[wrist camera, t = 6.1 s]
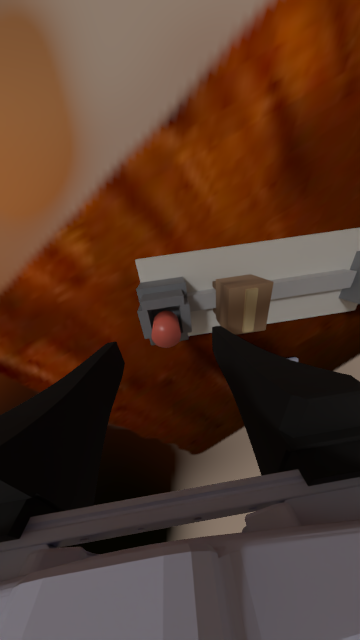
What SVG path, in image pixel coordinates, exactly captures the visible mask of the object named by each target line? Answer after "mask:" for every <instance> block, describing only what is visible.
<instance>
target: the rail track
mask: <svg viewBox="0 0 360 640" xmlns="http://www.w3.org/2000/svg"><path fill="white" fill-rule="evenodd" d="M135 262H136V266H137V270H138V274H139V278H140V282H141V283H140V284H139V286H138V287H137V289H136V291H137V294H138V298H139V302H140V307H139V309H138V311H137V312H138V316H139V319H140V323H141V326H142V330H143V333H144V337H145V339H147V338H149V339H150V342H151V345H156V344H155V343H154V342H153V340H152V337H151V334H152V328H153V321H154V318H155V316H156V315H157V314H158V313H159V312H162V311H171V312H173V313H174V314H176V316H177V317H178V320H179V326H180V332H181V338H180V340H179V341H182V340H188V336H192V335H199V334H205V333H212V327H215V326H221V325H220V324H219V323H218V321H217V320H216V315H215V313H214V312H213V308H216V290H215V289H214V288H213V287H212V281H216V279H221V278H228V277H235V276H242V275H248V274H252V275H255V276H258V277H261V278H264V279H267V280H270V281H273V282H274V283H273V289H272V295H271V301H270V307H269V312H268V318H267V324H270V323H276V322H282V321H289V320H295V319H302V318H308V317H315V316H321V315H328V314H334V313H340V312H347V311H353V310H355V309H356V307H357V305H358V304H360V228H353V229H346V230H339V231H332V232H325V233H318V234H311V235H304V236H297V237H290V238H283V239H276V240H269V241H261V242H254V243H247V244H240V245H233V246H226V247H219V248H212V249H205V250H198V251H191V252H184V253H177V254H170V255H163V256H156V257H149V258H142V259H136V260H135Z"/></svg>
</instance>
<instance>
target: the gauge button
mask: <svg viewBox="0 0 360 640" xmlns="http://www.w3.org/2000/svg"><path fill="white" fill-rule="evenodd" d="M151 337H152V340H153V342H154V343H155V344H156V345H158V346H160V347H163V348H169V347H172V346H174V345H176V344H177V343H178V342H179V340H180V338H181V332H180V326H179V320H178V317H177V316H176V314H174V313H173V312H171V311H162V312H159V313H158V314H157V315H156V316H155V318H154V321H153V328H152V334H151Z"/></svg>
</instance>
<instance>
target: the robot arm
mask: <svg viewBox="0 0 360 640" xmlns="http://www.w3.org/2000/svg"><path fill="white" fill-rule="evenodd" d="M212 345H213V352H214V355H215V358H216V360H217V363H218V365H219V367H220V369H221V371H222V373H223V375H224V377H225V379H226V381H227V383H228V385H229V387H230V389H231V391H232V393H233V396H234V398H235V401H236V403H237V406H238V408H239V411H240V414H241V417H242V419H243V422H244V425H245V428H246V430H247V433H248V436H249V439H250V442H251V445H252V448H253V451H254V453H255V457H256V460H257V463H258V466H259V469H260V472H261V475H262V476H257V477H251V478H246V479H240V480H235V481H229V482H223V483H218V484H212V485H207V486H201V487H196V488H190V489H184V490H179V491H173V492H168V493H162V494H157V495H152V496H145V497H140V498H134V499H129V500H123V501H117V502H112V503H106V504H101V505H96V506H94V500H95V492H96V486H97V485H96V484H97V479H98V471H99V466H100V460H101V454H102V449H103V444H104V438H105V434H106V429H107V425H108V421H109V416H110V412H111V409H112V406H113V403H114V400H115V397H116V394H117V391H118V388H119V385H120V382H121V379H122V375H123V370H124V364H125V363H124V360H123V358H122V355H121V353H120V350H119V348H118V345H117V342H111V343H107V344H105V345H104V346H103V347H101V348H100V349H99V350H98V351H97V352H95V353H94V354H93V355H92V356H90V357H89V358H88V359H87V360H86V361H84V362H83V363H82V364H81V365H79V366H78V367H77V368H75V369H74V370H73V371H71V372H70V373H69V374H67V375H66V376H65V377H63V378H62V379H60V380H59V381H58V382H56V383H55V384H53V385H52V386H50V387H48V388H47V389H45V390H44V391H42V392H40V393H39V394H37V395H35V396H34V397H33V398H30V399H29V400H27V401H25V402H24V403H22V404H20V405H18V406H17V407H15V408H13V409H11V410H10V411H8V412H6V413H4V414H2V415H0V640H360V382H359V381H358V380H356V379H355V378H353V377H352V376H351V375H347V374H342V373H337V372H333V371H329V370H325V369H320V368H317V367H313V366H309V365H306V364H302V363H299V362H298V358H297V357H293V358H284V357H281V356H278V355H275V354H273V353H270V352H268V351H266V350H263V349H261V348H259V347H257V346H255V345H253V344H251V343H249V342H247V341H245V340H243V339H242V338H240V337H238V336H236V335H235V334H233V333H231V332H230V331H228V330H227V329H225V328H223V327H222V326H215V327H212ZM254 511H255V512H254ZM248 512H253V513H250V514H247V515H246V517H245V522H246V525H247V526H246V527H244V528H243V530H242V533H234V534H225V535H216V536H207V537H200V538H191V539H184V540H177V541H171V542H165V543H158V544H152V545H146V546H141V547H136V548H131V549H125V550H120V551H116V552H111V553H107V554H102V555H99V554H93V553H90V552H87V551H85V550H84V549H83V548H82V547H67V548H59V547H64V546H69V545H75V544H80V543H86V542H91V541H96V540H102V539H108V538H113V537H118V536H124V535H129V534H135V533H140V532H145V531H151V530H156V529H161V528H167V527H172V526H178V525H183V524H188V523H194V522H199V521H205V520H210V519H216V518H221V517H227V516H232V515H237V514H243V513H248Z"/></svg>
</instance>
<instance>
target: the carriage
mask: <svg viewBox="0 0 360 640" xmlns="http://www.w3.org/2000/svg"><path fill="white" fill-rule="evenodd" d="M273 283H274V282H273V281H270V280H267V279H264V278H261V277H258V276H255V275H252V274H248V275H242V276H235V277H228V278H221V279H216V281H212V287H213V288H214V289H215V290H216V308H213V312H214V313H215V315H216V320H217V321H218V323H219V324H220V325H221V326H222V327H223V328H225V329H227V330H228V331H230V332H231V333H233V334H235V335H237V334H243V333H250V332H256V331H262V330H266V324H267V318H268V312H269V307H270V301H271V295H272V289H273Z"/></svg>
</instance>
